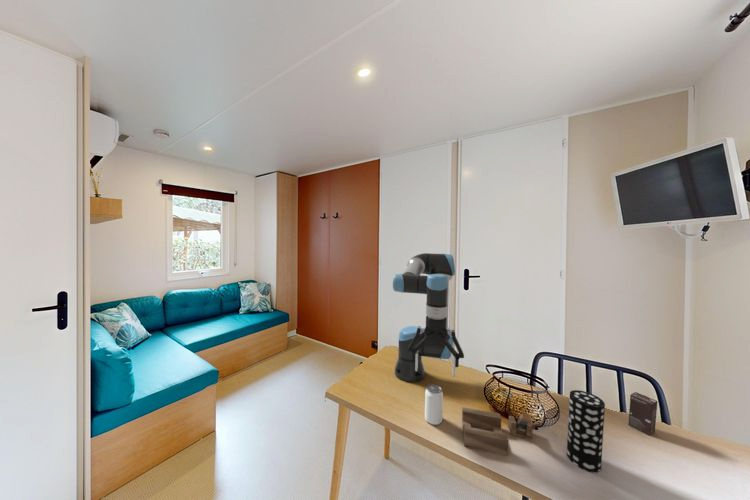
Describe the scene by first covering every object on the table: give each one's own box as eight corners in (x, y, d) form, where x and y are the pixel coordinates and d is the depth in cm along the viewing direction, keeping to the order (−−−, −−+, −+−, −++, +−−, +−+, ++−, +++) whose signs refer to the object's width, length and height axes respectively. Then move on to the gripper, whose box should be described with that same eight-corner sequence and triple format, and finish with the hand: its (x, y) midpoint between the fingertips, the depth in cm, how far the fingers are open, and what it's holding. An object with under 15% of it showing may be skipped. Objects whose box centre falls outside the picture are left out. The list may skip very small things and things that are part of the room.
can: (442, 427, 92) (443, 394, 92) (424, 424, 93) (425, 392, 93) (441, 415, 99) (442, 384, 98) (424, 412, 100) (425, 382, 99)
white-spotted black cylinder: (591, 476, 74) (595, 410, 73) (560, 454, 81) (563, 393, 80) (607, 466, 77) (610, 403, 76) (576, 446, 85) (579, 387, 84)
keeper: (516, 428, 90) (515, 423, 92) (524, 430, 90) (523, 424, 91) (522, 418, 83) (521, 412, 85) (531, 420, 83) (530, 413, 84)
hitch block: (461, 417, 97) (462, 405, 97) (528, 430, 91) (529, 417, 91) (464, 446, 84) (465, 431, 83) (543, 463, 78) (543, 448, 77)
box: (627, 425, 95) (629, 394, 94) (633, 421, 97) (635, 391, 96) (650, 436, 89) (652, 403, 89) (655, 433, 91) (658, 400, 91)
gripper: (401, 316, 93) (400, 371, 95) (473, 323, 87) (471, 383, 88) (404, 310, 101) (403, 362, 102) (470, 316, 94) (469, 372, 95)
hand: (434, 372), depth 95 cm, fingers open, 13 cm apart
